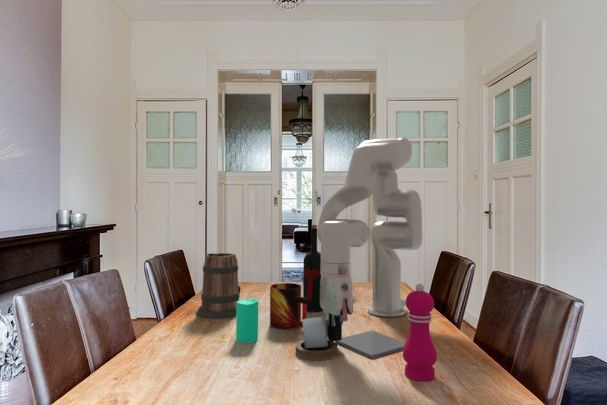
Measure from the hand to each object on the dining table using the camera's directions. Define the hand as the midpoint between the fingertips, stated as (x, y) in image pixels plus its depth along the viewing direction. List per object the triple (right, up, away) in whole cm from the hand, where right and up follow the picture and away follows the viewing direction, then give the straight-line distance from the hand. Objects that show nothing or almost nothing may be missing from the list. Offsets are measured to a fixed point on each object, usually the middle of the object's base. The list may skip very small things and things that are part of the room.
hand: (334, 339), depth 104 cm
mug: (-12, -3, +20) cm, 24 cm away
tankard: (-36, -3, +38) cm, 53 cm away
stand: (-5, -2, -2) cm, 6 cm away
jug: (-3, -2, -1) cm, 4 cm away
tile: (+10, -3, +3) cm, 11 cm away
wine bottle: (-5, -3, +38) cm, 39 cm away
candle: (-24, -3, +8) cm, 25 cm away
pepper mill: (+17, -3, -16) cm, 24 cm away
